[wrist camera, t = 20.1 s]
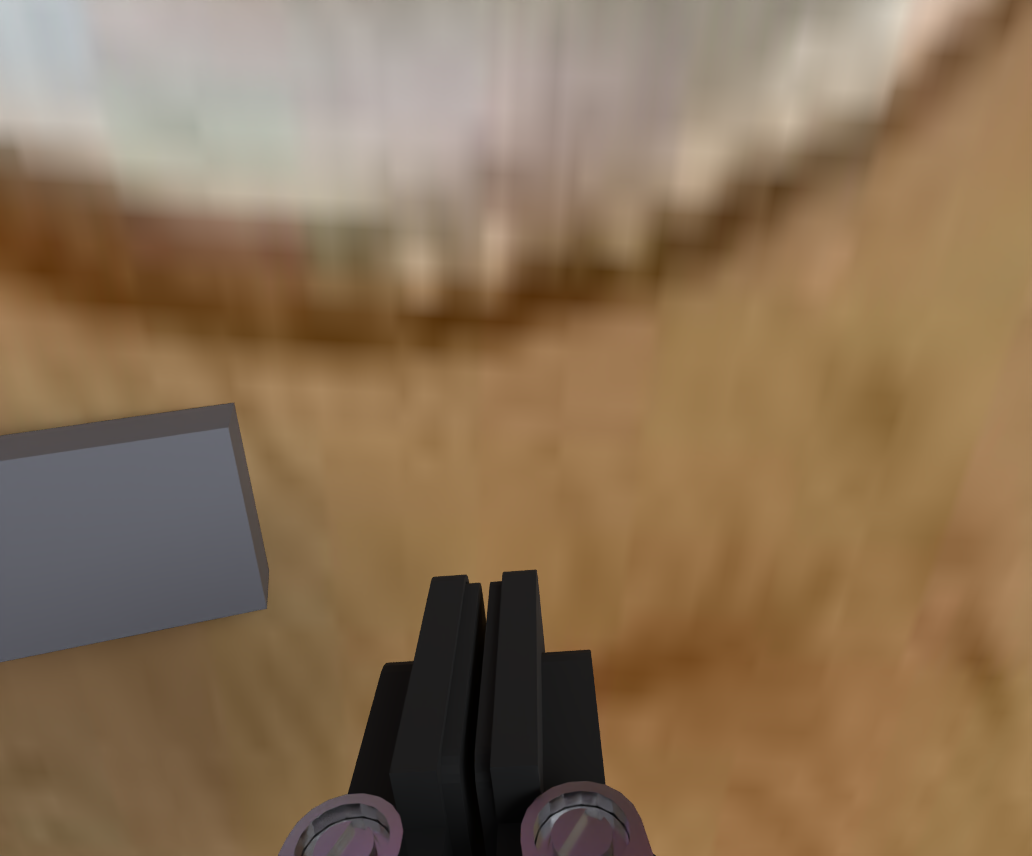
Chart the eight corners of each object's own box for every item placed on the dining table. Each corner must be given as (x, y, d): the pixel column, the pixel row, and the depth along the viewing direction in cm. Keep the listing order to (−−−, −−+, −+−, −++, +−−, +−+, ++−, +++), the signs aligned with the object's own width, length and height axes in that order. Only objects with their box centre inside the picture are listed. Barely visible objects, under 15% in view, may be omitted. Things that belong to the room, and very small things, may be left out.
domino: (228, 427, 18) (-282, 502, 16) (266, 608, 20) (-187, 700, 17) (233, 402, 20) (-222, 467, 18) (269, 570, 22) (-142, 648, 19)
